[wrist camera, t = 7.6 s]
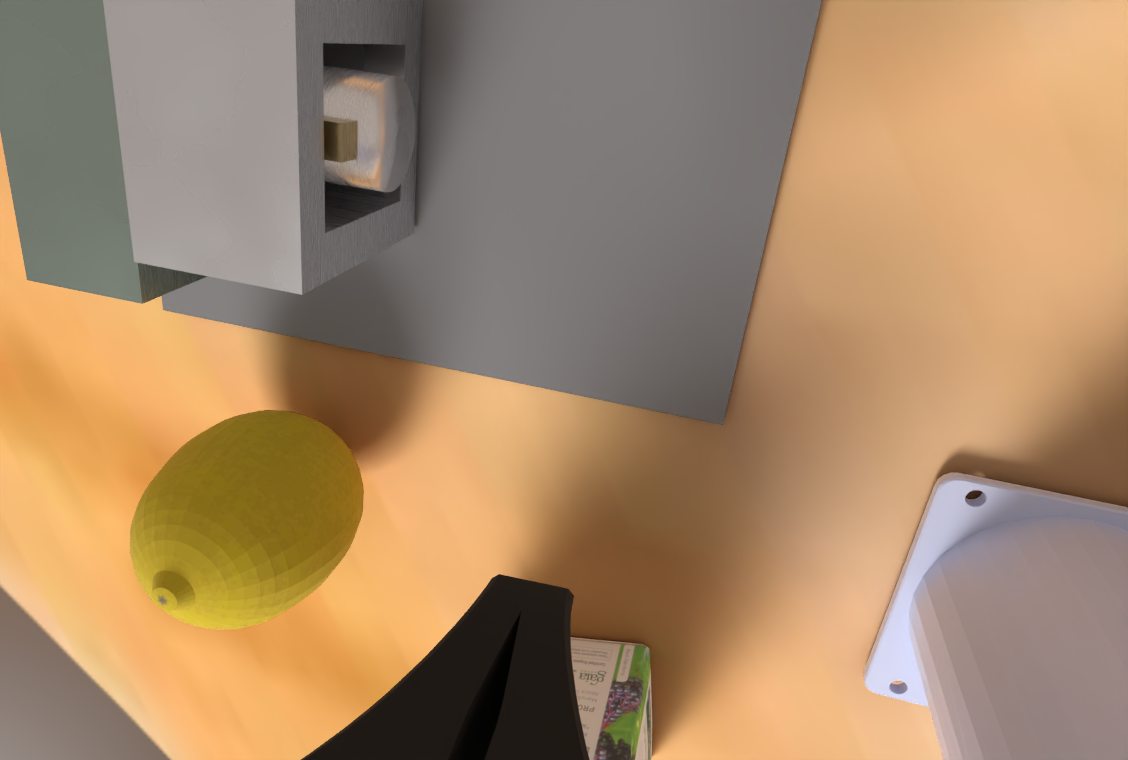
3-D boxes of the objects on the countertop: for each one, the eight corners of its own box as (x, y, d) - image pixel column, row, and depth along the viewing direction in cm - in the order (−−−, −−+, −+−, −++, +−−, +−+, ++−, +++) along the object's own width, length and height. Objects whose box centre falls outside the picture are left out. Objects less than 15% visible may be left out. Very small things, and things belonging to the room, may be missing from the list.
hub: (422, -4, 19) (294, -25, 14) (413, 233, 22) (302, 294, 16) (275, -23, 20) (97, -50, 14) (283, 210, 22) (134, 261, 17)
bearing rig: (451, -44, 19) (321, -86, 13) (435, 266, 22) (326, 341, 17) (147, -81, 20) (-92, -133, 15) (174, 218, 24) (-10, 272, 18)
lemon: (253, 352, 25) (52, 474, 18) (412, 399, 24) (270, 545, 17) (249, 491, 27) (70, 648, 20) (394, 538, 27) (262, 717, 19)
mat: (857, -155, 16) (858, -158, 16) (722, 420, 22) (722, 425, 22) (116, -222, 19) (107, -226, 19) (169, 307, 25) (163, 310, 25)
